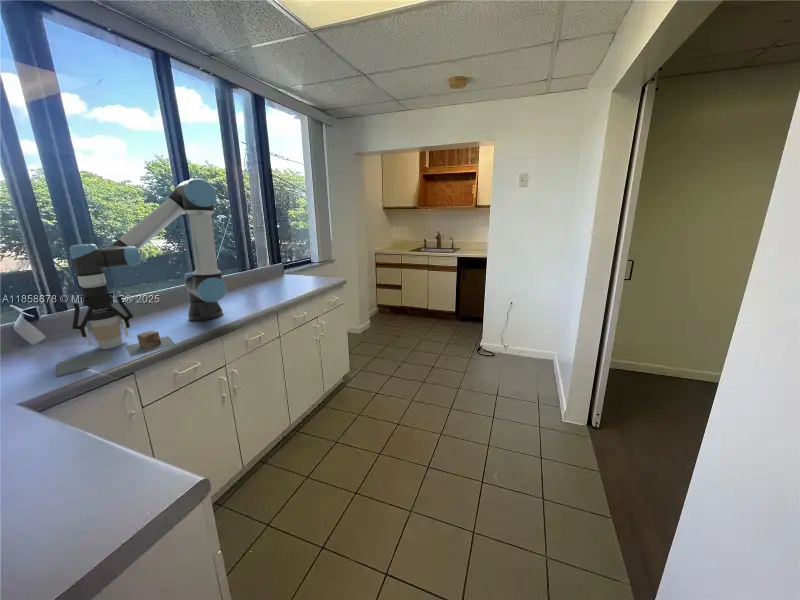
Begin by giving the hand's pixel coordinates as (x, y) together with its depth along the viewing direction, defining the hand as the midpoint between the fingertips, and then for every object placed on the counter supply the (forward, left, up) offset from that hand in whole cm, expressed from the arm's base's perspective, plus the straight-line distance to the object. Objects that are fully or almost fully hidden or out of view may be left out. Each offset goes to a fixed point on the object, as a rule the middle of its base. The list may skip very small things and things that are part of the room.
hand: (109, 339), depth 129 cm
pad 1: (+8, +13, -3) cm, 16 cm away
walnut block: (-11, +13, -2) cm, 17 cm away
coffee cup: (0, 0, -3) cm, 3 cm away
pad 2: (-11, +13, -3) cm, 17 cm away
